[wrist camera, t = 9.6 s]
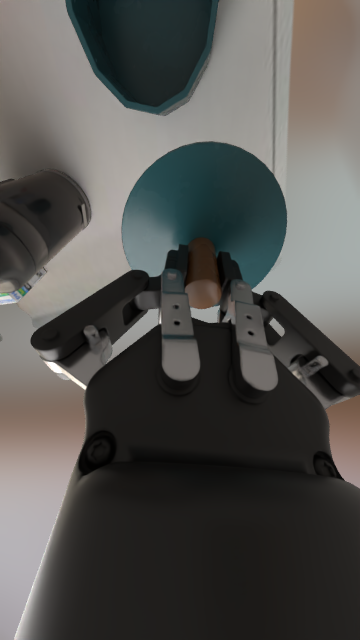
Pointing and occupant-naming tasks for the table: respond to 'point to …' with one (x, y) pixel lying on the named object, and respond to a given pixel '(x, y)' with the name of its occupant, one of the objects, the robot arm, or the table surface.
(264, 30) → the table surface
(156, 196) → the lid
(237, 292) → the robot arm
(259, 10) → the table surface
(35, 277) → the light bulb box
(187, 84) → the pot
